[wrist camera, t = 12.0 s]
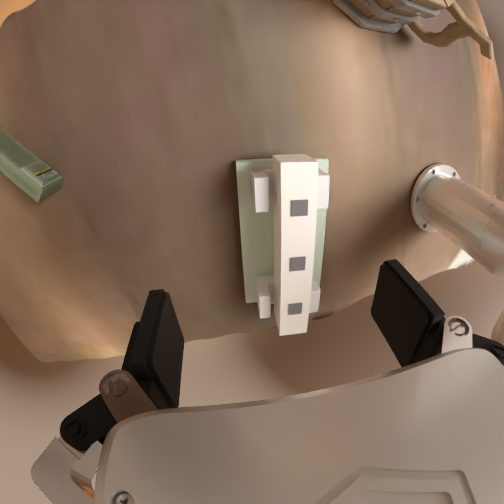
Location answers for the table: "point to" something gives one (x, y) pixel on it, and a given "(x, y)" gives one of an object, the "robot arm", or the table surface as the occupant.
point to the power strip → (294, 239)
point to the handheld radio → (27, 169)
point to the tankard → (415, 20)
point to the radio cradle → (271, 230)
